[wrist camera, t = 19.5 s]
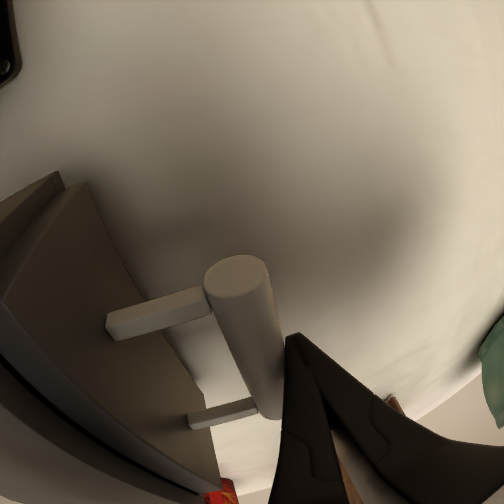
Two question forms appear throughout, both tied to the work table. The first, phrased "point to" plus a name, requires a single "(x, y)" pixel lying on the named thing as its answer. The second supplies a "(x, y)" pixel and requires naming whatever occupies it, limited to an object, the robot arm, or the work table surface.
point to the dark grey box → (60, 420)
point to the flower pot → (494, 371)
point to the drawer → (131, 343)
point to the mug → (222, 494)
